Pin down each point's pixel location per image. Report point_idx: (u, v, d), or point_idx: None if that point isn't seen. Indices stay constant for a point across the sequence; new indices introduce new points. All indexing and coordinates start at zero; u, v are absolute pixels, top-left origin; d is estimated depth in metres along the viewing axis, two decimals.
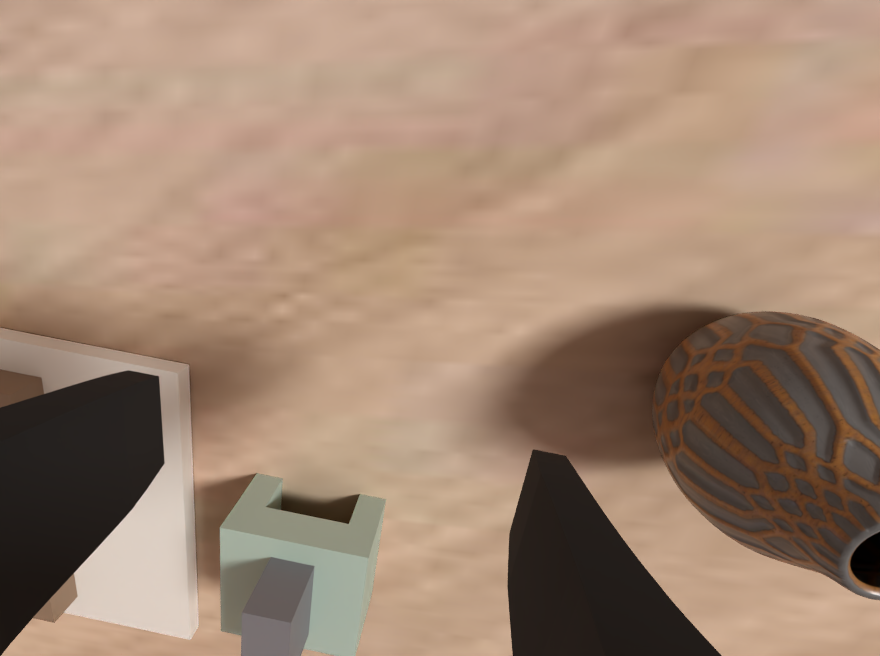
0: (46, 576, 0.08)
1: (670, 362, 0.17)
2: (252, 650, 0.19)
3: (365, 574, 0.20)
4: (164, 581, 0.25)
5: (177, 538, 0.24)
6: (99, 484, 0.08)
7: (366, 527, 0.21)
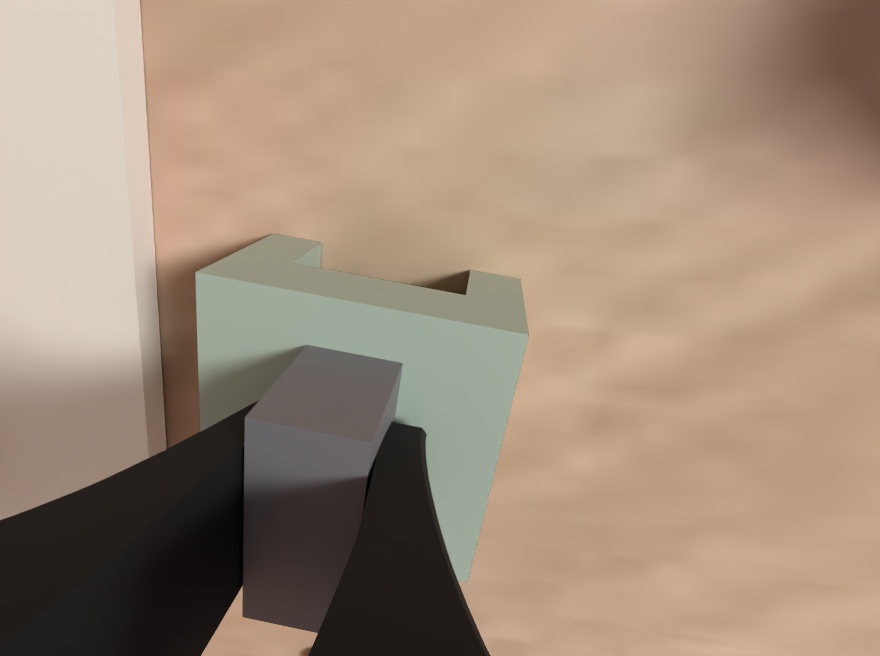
0: (213, 612, 0.08)
1: None
2: (270, 527, 0.08)
3: (515, 379, 0.09)
4: (109, 460, 0.14)
5: (127, 369, 0.13)
6: None
7: (502, 301, 0.10)
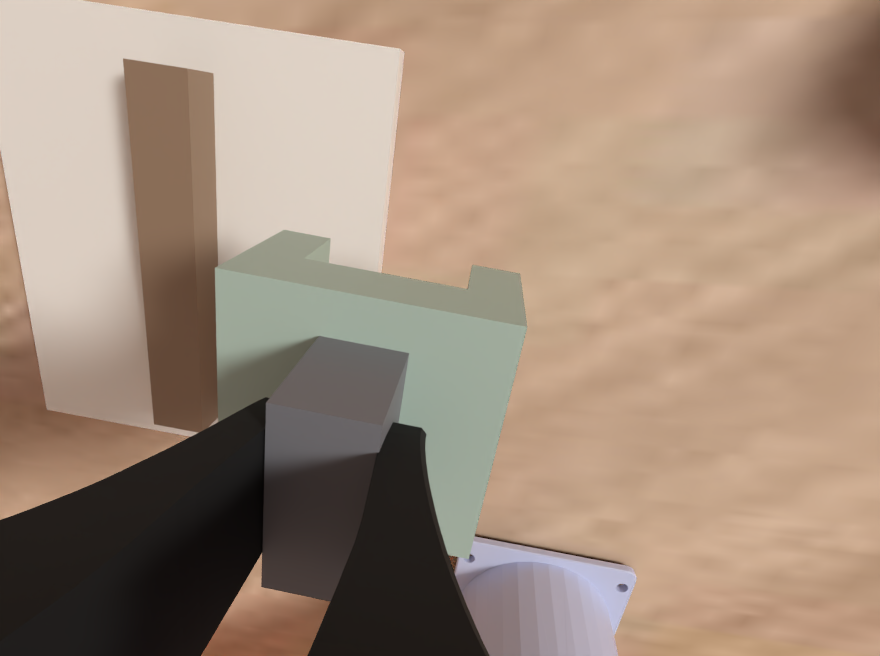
0: (213, 611, 0.08)
1: None
2: (288, 503, 0.08)
3: (514, 368, 0.10)
4: None
5: None
6: (253, 515, 0.08)
7: (502, 295, 0.11)
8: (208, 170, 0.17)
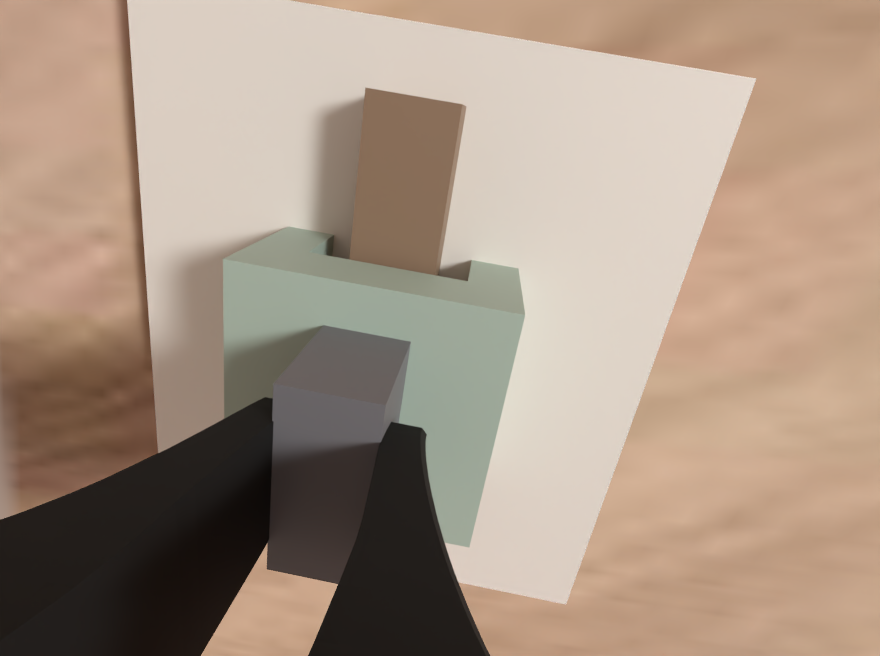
0: (213, 611, 0.08)
1: None
2: (294, 484, 0.09)
3: (513, 356, 0.10)
4: (559, 507, 0.15)
5: (614, 427, 0.14)
6: (253, 515, 0.08)
7: (501, 287, 0.11)
8: (443, 240, 0.12)
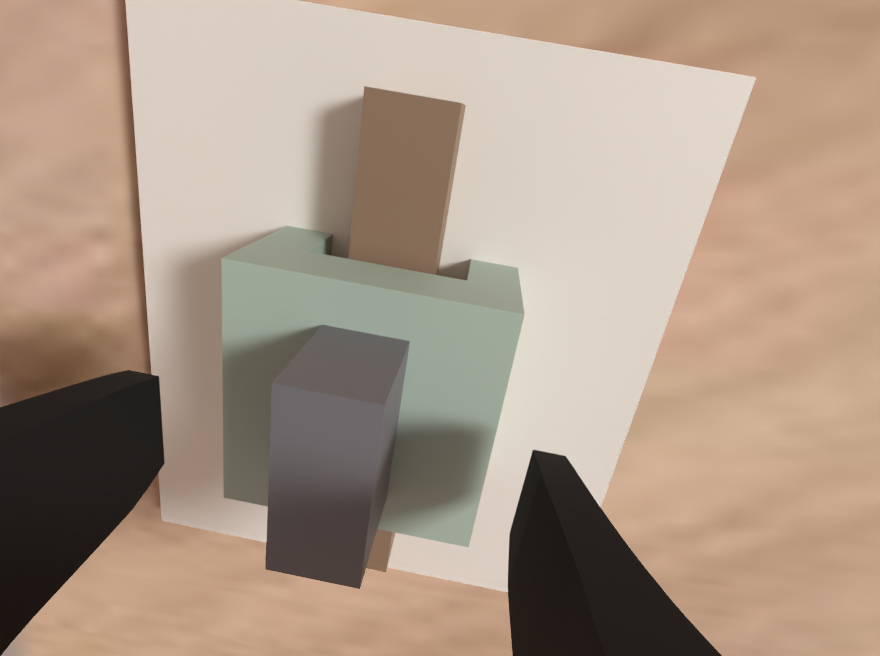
0: (46, 576, 0.08)
1: None
2: (292, 484, 0.09)
3: (512, 355, 0.10)
4: None
5: (614, 427, 0.14)
6: (99, 484, 0.08)
7: (500, 286, 0.11)
8: (442, 239, 0.12)
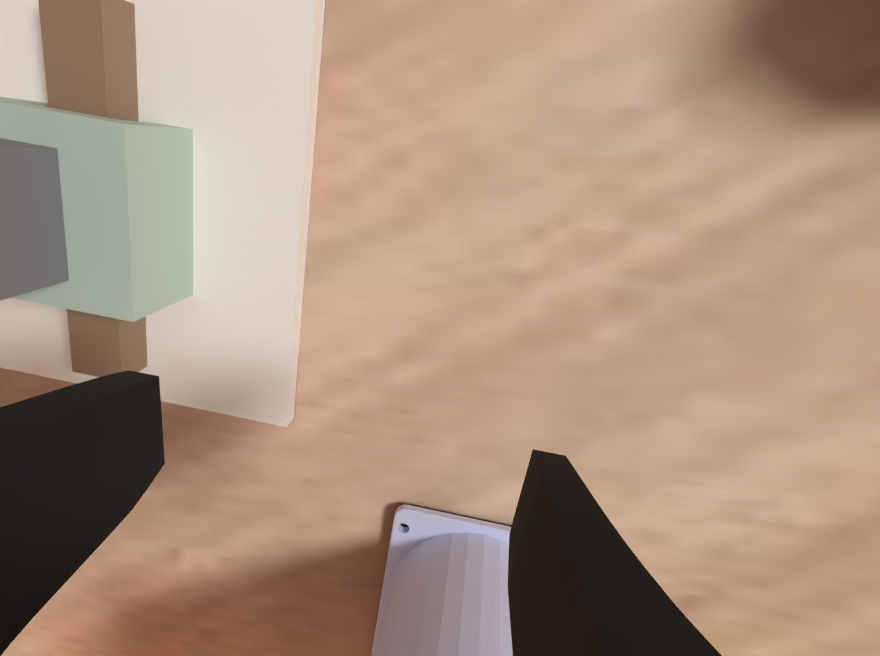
0: (46, 576, 0.08)
1: None
2: None
3: (124, 157, 0.15)
4: (263, 334, 0.20)
5: (287, 261, 0.19)
6: (99, 484, 0.08)
7: (144, 124, 0.16)
8: (128, 103, 0.17)
